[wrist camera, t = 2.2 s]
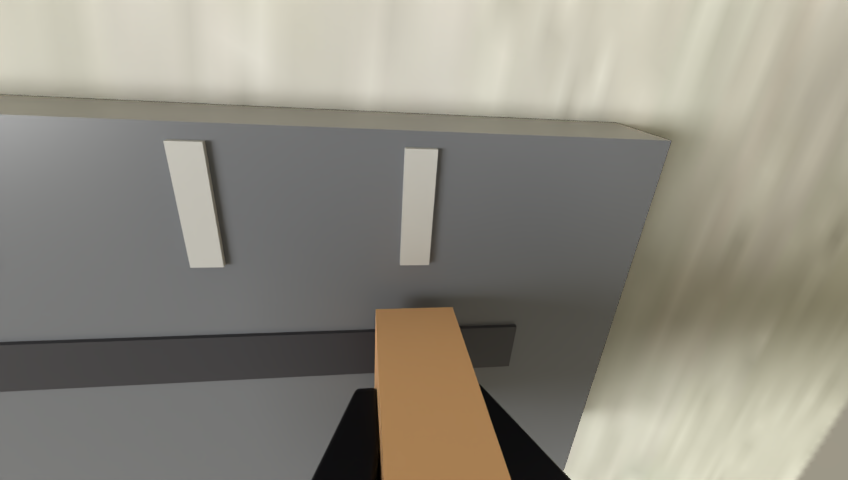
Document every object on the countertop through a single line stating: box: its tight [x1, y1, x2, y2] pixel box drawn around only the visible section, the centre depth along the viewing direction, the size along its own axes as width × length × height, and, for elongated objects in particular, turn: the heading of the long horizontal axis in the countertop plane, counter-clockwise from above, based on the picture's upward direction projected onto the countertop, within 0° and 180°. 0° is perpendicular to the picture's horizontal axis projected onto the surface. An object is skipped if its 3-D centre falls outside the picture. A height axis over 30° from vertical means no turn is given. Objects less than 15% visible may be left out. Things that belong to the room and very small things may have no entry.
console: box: [0, 95, 671, 480], centre depth 9 cm, size 10×22×2 cm, turn 86°
